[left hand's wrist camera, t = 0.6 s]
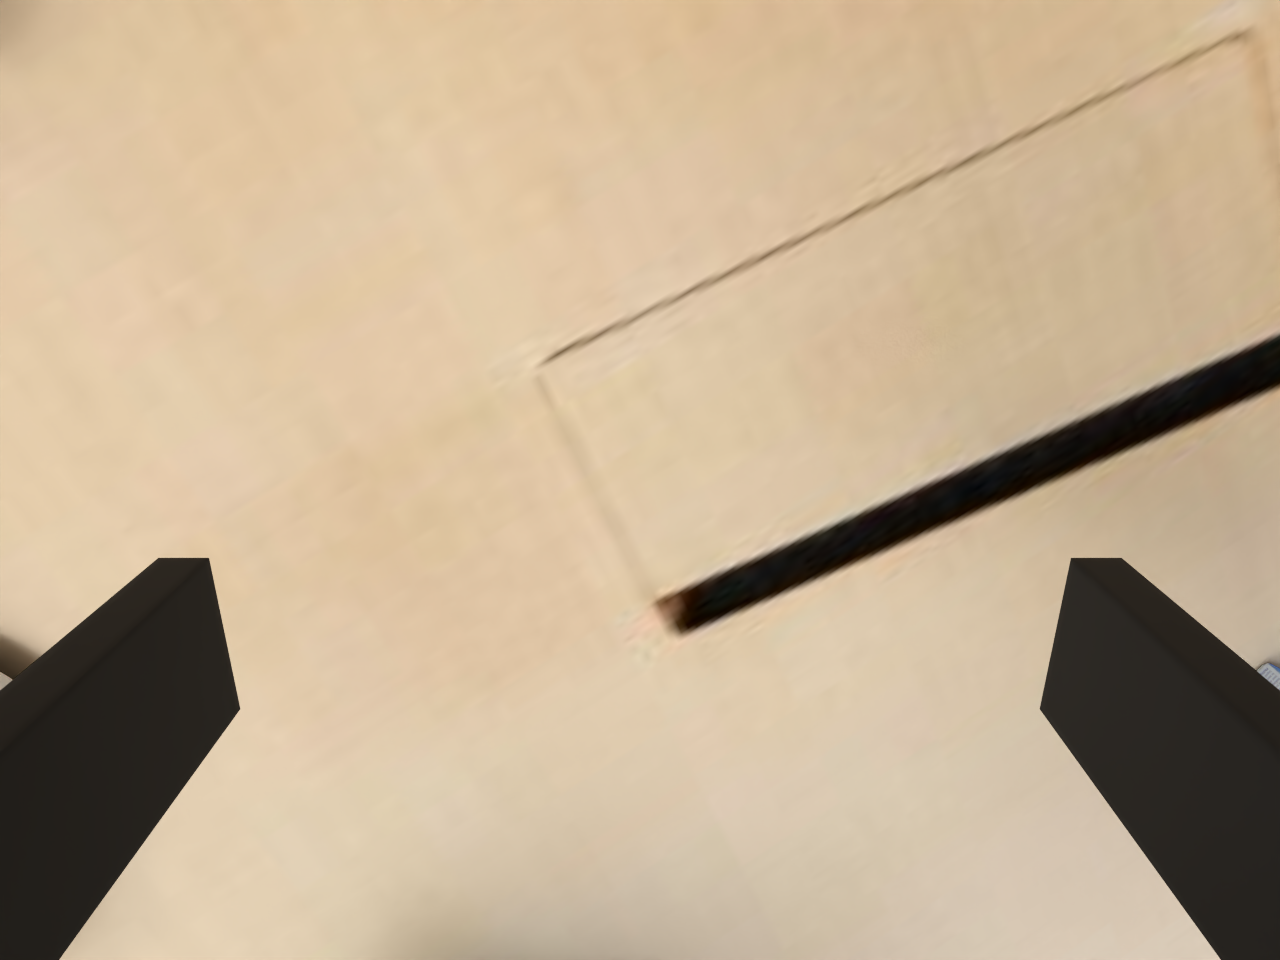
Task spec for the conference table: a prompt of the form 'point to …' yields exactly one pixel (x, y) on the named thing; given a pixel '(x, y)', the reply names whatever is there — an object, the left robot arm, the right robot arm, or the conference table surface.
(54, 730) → the left robot arm
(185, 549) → the conference table surface
